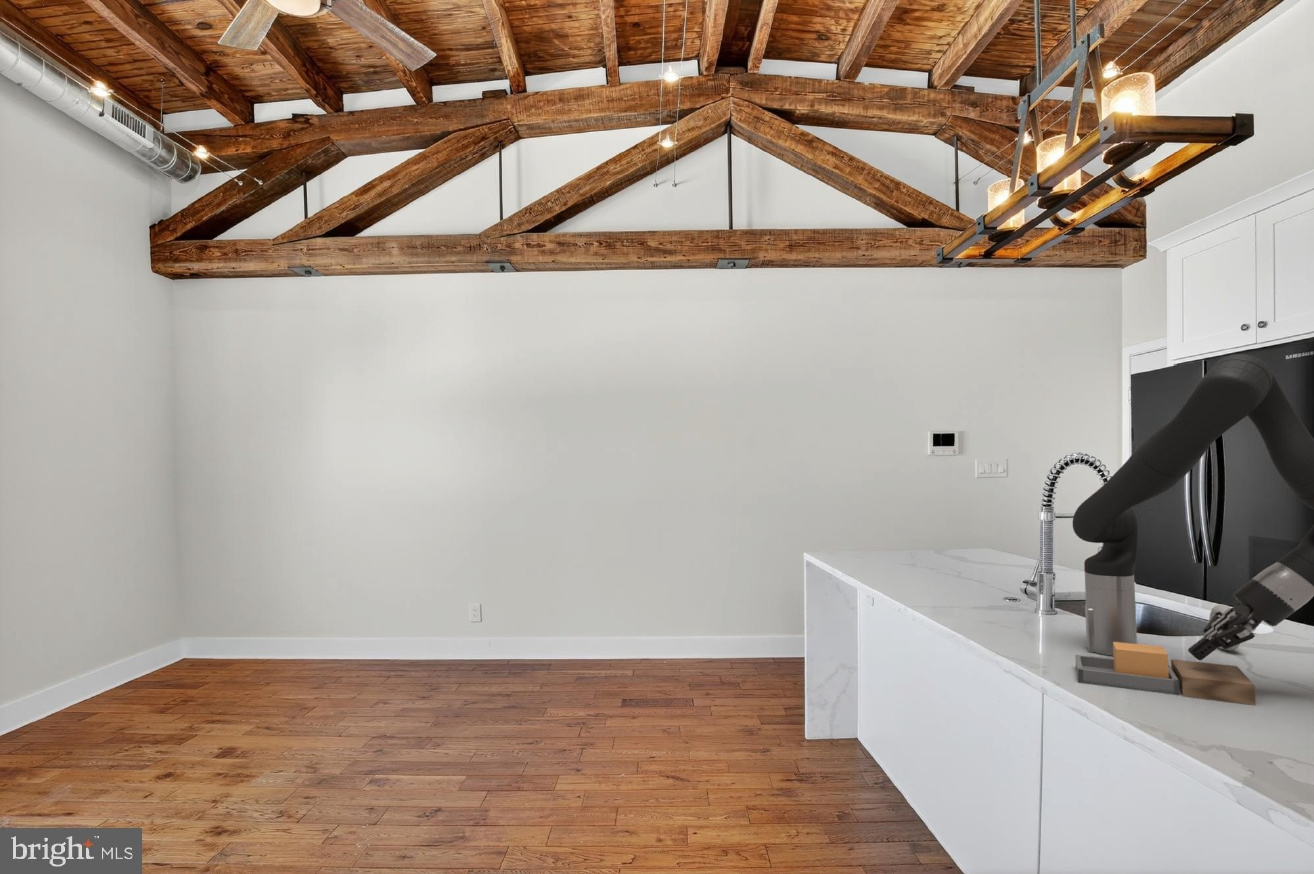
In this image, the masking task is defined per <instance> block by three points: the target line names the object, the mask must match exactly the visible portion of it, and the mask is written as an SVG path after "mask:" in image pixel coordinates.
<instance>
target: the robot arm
mask: <svg viewBox="0 0 1314 874" xmlns="http://www.w3.org/2000/svg"><path fill="white" fill-rule="evenodd" d="M1246 417H1248V418H1249V419H1250V420H1251V422H1252V423H1253V424H1254V426H1255V429H1257V430H1258V432H1259V434H1260V437H1261V438H1262V440H1263V443H1264V445H1265V447H1266V449H1267V452H1268V455H1269V457H1270V459H1271V461H1272V464H1273V466H1274V468H1275V469H1276V471H1277V473H1278V474H1279V475H1280V477H1281V478H1282V480H1283V481H1284V482H1285V483H1286V485H1287V486H1288V487H1289V488H1290V489H1291V491H1293V493H1294V494H1295V495H1296V496H1297V498H1298V499H1299V500H1300V501H1301V502H1302V503H1303V504H1304V505H1305V506H1307V507H1308V508H1310V509H1311V510H1314V437H1313V436H1312V435H1311V433H1310V432H1309V431H1308V429H1307V427H1306V426H1305V425H1304V423H1303V422H1302V420H1301V419H1300V417H1299V415H1298V413H1296V411H1295V409H1294V408H1293V407H1292V405H1291V403H1290V401H1289V400H1288V398H1287V397H1286V394H1285V393H1284V391H1283V389H1282V387H1281V385H1280V384H1279V382H1278V379H1277V378H1276V377H1275V375H1274V373H1273V372H1272V370H1271V369H1270V367H1269V366H1268V365H1267V363H1265V362H1264V361H1262V360H1261V359H1260V358H1258V357H1256V356H1254V355H1250V354H1244V353H1243V354H1242V353H1237V354H1230V355H1226V356H1224V357H1222V358H1221V359H1219V360H1218V361H1216V362H1215V363H1214V364H1213V365H1212V367H1210V368H1209V370H1208V371H1207V372H1206V373H1205V374H1204V376H1203V377H1202V378H1201V379H1200V381H1198V384H1197V385H1196V387H1195V389H1194V390H1193V392H1192V393H1191V394H1190V396H1189V397H1188V399H1187V400H1186V402H1185V404H1183V406H1182V407H1181V409H1180V410H1179V411H1178V412H1177V414H1176V415H1175V416H1174V417H1173V418H1172V419H1171V420H1170V421H1169V422H1167V423H1166V424H1164V425H1163V426H1162V427H1160V428H1159V429H1158V430H1156V431H1154V432H1153V433H1152V434H1151V435H1149V437H1147V438H1145V440H1144V441H1143V442H1142V443H1141V444H1140V445H1139V446H1138V447H1137V449H1136V450H1135V451H1134V452H1133V453H1132V454H1131V455H1130V456H1129V458H1128V459H1127V460H1126V461H1125V463H1124V464H1123V465H1121V467H1120V468H1119V469H1118V470H1116V472H1115V473H1114V474H1113V475H1112V476H1111V477H1110V478H1109V479H1108V480H1107V481H1106V482H1105V483H1104V484H1103V485H1102V486H1101V487H1100V488H1099V489H1097V490H1096V491H1095V492H1093V493H1092V494H1091V495H1090V496H1089V497H1088V498H1086V499H1085V500H1084V501H1083V502H1081V504H1080V505H1079V506H1078V507H1077V508H1076V510H1075V512H1074V513H1073V518H1072V528H1073V529H1072V530H1073V533H1075V535H1076V536H1077V537H1078V539H1080V540H1082V541H1085V542H1086V543H1094V544H1102V547H1101V549H1100V550H1099V551H1098V552H1096V553H1095V554H1094V555H1091V556H1089V557H1088V558H1086V559H1084V562H1083V563H1084V567H1083V568H1084V589H1085V590H1084V591H1085V604H1084V606H1085V607H1084V610H1085V612H1084V613H1085V633H1086V634H1085V635H1086V647H1087V652H1091V653H1092V652H1093V653H1098V654H1101V655H1106V656H1113V642H1121V643H1131V644H1138V640H1137V638H1138V637H1137V615H1136V613H1137V612H1136V592H1135V591H1136V589H1135V588H1136V587H1135V585H1136V584H1135V567H1136V564H1137V561H1138V544H1139V543H1138V541H1139V540H1138V539H1139V537H1138V536H1139V535H1138V534H1139V529H1138V528H1139V527H1138V519H1137V518H1138V517H1137V515H1136V513H1135V511H1134V509H1133V507H1136V506H1137V505H1140V504H1142V503H1144V502H1147V501H1148V500H1151V499H1154V498H1155V497H1158V496H1160V495H1161V494H1164V493H1166V492H1167V491H1169V490H1170V489H1172V488H1173V487H1175V486H1176V485H1177V484H1178V483H1179V482H1180V481H1181V480H1182V479H1183V478H1184V477H1185V476H1186V475H1187V474H1188V473H1189V472H1190V471H1191V470H1193V468H1194V467H1195V466H1196V465H1197V463H1198V462H1199V461H1200V459H1202V457H1203V456H1204V454H1205V453H1206V451H1207V450H1208V449H1209V447H1210V446H1211V445H1212V444H1213V443H1214V442H1215V441H1216V440H1217V439H1218V438H1219V437H1221V436H1222V435H1223V434H1224V433H1226V432H1227V431H1228V430H1230V429H1231V428H1232V427H1233V426H1235V425H1237V424H1238V423H1239V422H1240V421H1242V420H1243V419H1244V418H1246ZM1232 595H1233V598H1234V599H1235V600H1236V601H1237V602H1238V604H1235V606H1233V607H1231V608H1229V609H1227V610H1226V611H1224V612H1223V613H1221V612H1220V611H1219V612H1216V613H1215V615H1214V616H1213V618H1212V619H1211V620H1210V621H1208V623H1207V624H1206V626H1205V627H1204V629H1203V630H1202V632H1203V633H1204V634H1202V638H1201V639H1200V640H1198V641H1196V643H1195V642H1194V644H1192V646H1190V647H1189V648H1188V649H1187V651H1188V653H1190V655H1192V656H1193V657H1194V658H1195V659H1196V660H1198V661H1203V660H1204V659H1206V657H1208V656H1209V655H1210V654H1212V653H1213V652H1214V651H1217V649H1218V650H1220V649H1221V648H1222V647H1223V648H1224V649H1227V648H1230V647H1233V646H1235V645H1238V644H1240V645H1241V644H1242V643H1245V642H1248V641H1250V640H1253V639H1254V638H1255V637H1256V636H1255V634H1254V633H1253V632H1254V631H1256V629H1257V628H1258V627H1259V626H1260V624H1261V623H1262V622H1264V623H1265V624H1266V625H1268V626H1271V627H1276V626H1278V625H1279V624H1281V623H1282V622H1283V621H1285V620H1286V619H1287V618H1289V617H1290V616H1291V615H1293V614H1294V613H1295V612H1296V611H1298V610H1299V609H1300V608H1302V607H1303V606H1304V605H1306V604H1307V603H1309V601H1310V600H1312V599H1313V597H1314V524H1313V525H1312V526H1311V527H1310V529H1309V530H1308V532H1307V533H1305V535H1304V537H1302V540H1301V541H1300V543H1298V545H1297V546H1296V547H1295V548H1293V549H1292V550H1290V551H1289V552H1287V553H1286V554H1285V555H1284V556H1283V557H1281V558H1280V559H1278V560H1277V561H1276V562H1275V563H1273V564H1271V565H1270V566H1268V567H1266V568H1265V569H1263V570H1262V571H1261V572H1259V573H1258V574H1256V575H1255V576H1254V577H1252V578H1251V579H1250V580H1249V581H1247V582H1246V583H1245V584H1243V585H1242V586H1241V587H1240V588H1238V589H1237V590H1236V591H1234V592H1233V594H1232ZM1224 649H1223V650H1224Z"/></svg>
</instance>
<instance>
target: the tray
mask: <svg viewBox="0 0 1314 874" xmlns="http://www.w3.org/2000/svg"><path fill="white" fill-rule="evenodd" d="M1074 658H1075V669H1076V675H1077V681H1078V684H1079V683H1080V684H1090V685H1095V686H1104V687H1111V688H1112V687H1113V688H1119V689H1127V690H1128V689H1129V690H1137V691H1145V692H1152V693H1160V694H1166V695H1167V694H1168V695H1169V694H1171V695H1175V694H1176V695H1177V696H1180V695H1181V692H1180V687H1179V680H1178V678H1177V677H1176V675H1175V673H1174V672H1173V670H1172V669H1171V664H1168V668H1169V679H1167V678H1158V677H1150V676H1141V675H1132V674H1124V673H1115V672H1114V658H1108V657H1103V656H1102V657H1100V656H1099V657H1098V656H1090V655H1089V656H1088V655H1080V654H1075V657H1074Z"/></svg>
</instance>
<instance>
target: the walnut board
mask: <svg viewBox="0 0 1314 874" xmlns="http://www.w3.org/2000/svg"><path fill="white" fill-rule="evenodd" d="M1170 667H1171V669H1172V670H1173V672H1174V673H1175V675H1176V677H1177V678H1178V680H1179V687H1180V695H1182V697H1185V696H1186V698H1193V699H1201V700H1202V699H1203V700H1210V701H1217V702H1218V701H1219V702H1228V703H1235V704H1243V705H1248V706H1249V705H1251V706H1256V686H1255V685H1256V684H1254V683H1253V682H1252V680H1250V678H1249V677H1248V676H1247V675H1246V674H1245V673H1244V672H1243V670H1241V669H1240V667H1238V665H1231V664H1223V663H1220V664H1219V663H1211V662H1210V663H1209V662H1200V661H1192V660H1182V659H1181V660H1180V659H1173V658H1172V659H1170Z"/></svg>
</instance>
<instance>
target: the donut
mask: <svg viewBox="0 0 1314 874" xmlns="http://www.w3.org/2000/svg"><path fill="white" fill-rule="evenodd" d="M1229 608H1232V607H1231V606H1230V605H1227V604H1222V603H1220V604H1219V603H1218V604H1216V605H1214V606H1213V607H1212V608H1211V610H1210V614H1209V620H1208V622H1210V620H1211V619H1212V618H1213V616H1214V615H1215V613H1216V612H1219V611H1220V612H1221V613H1223V612H1224V611H1226V610H1227V609H1229ZM1240 645H1241V643H1240V644H1238V645H1235V646H1233V647H1230V648H1227V649H1224V648H1223V647H1222V648H1220V649H1222V650H1224V651H1227V652H1228V651H1229V652H1232V651H1235V650H1236V649H1238V648H1239V647H1240Z"/></svg>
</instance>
